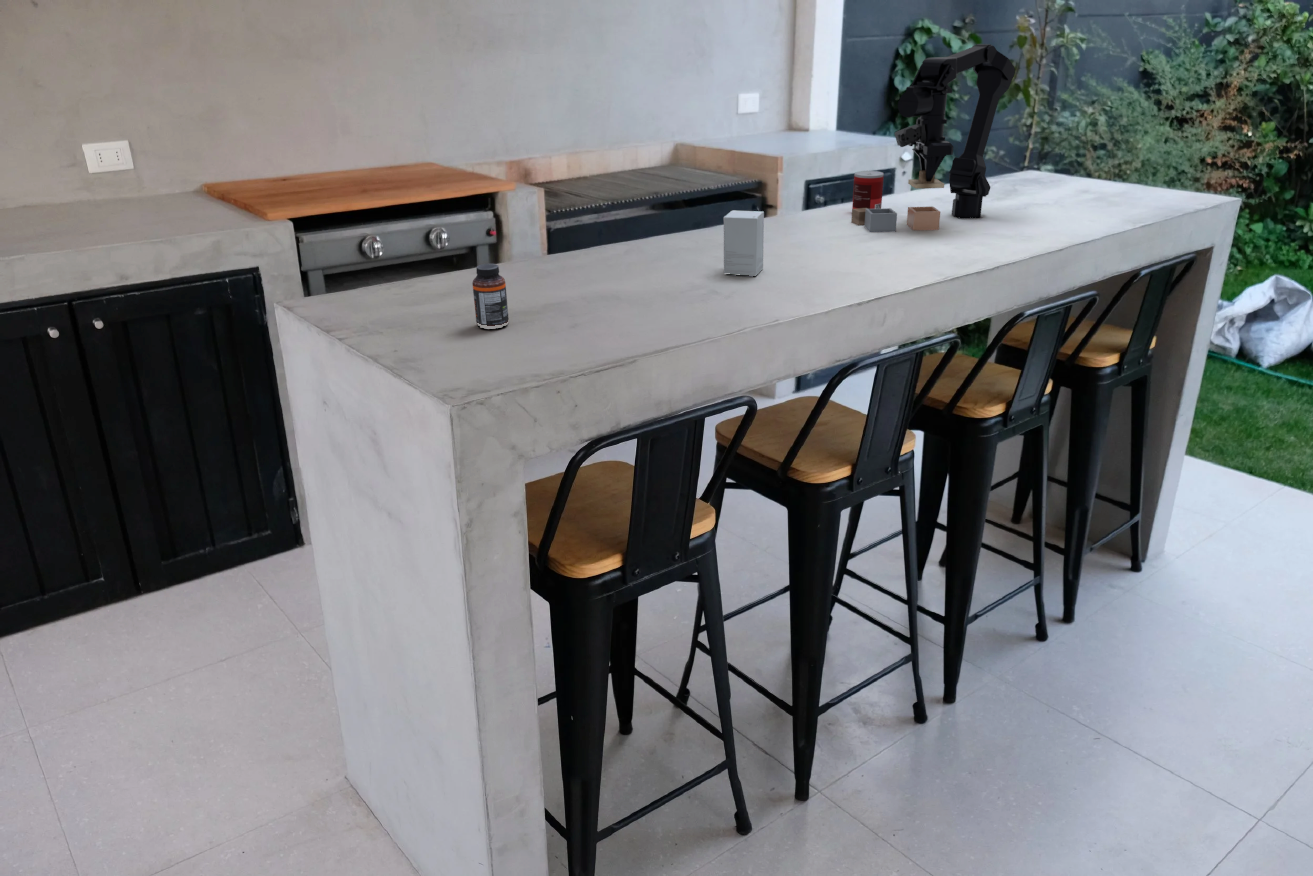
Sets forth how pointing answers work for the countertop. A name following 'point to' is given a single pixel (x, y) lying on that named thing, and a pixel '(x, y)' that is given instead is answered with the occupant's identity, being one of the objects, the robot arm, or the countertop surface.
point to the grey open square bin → (880, 220)
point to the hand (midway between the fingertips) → (926, 180)
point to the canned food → (868, 190)
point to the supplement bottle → (490, 296)
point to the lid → (925, 182)
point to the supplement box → (743, 242)
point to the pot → (923, 218)
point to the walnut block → (858, 216)
